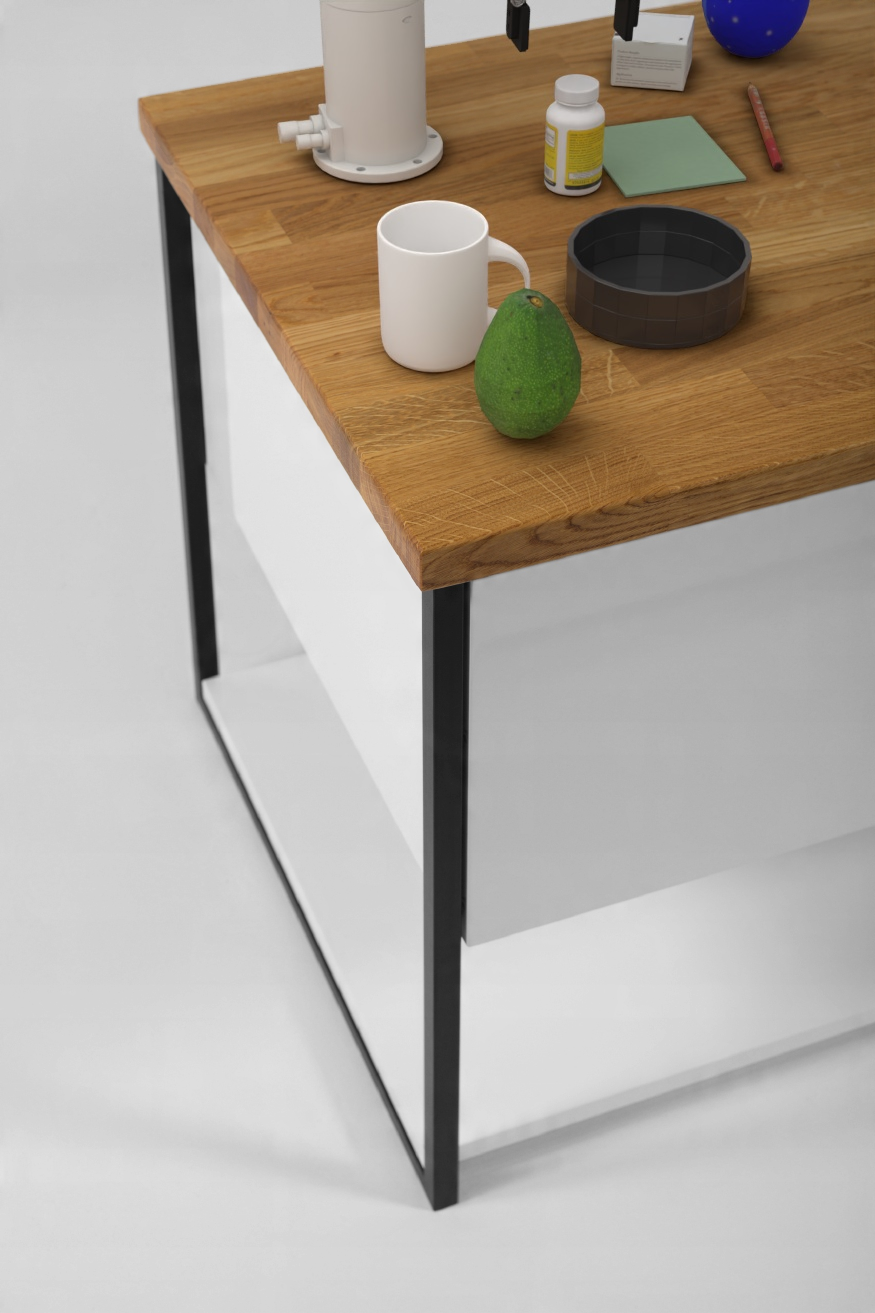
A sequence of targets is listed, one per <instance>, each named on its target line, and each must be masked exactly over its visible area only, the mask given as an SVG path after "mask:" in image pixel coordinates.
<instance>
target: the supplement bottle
mask: <svg viewBox="0 0 875 1313" xmlns="http://www.w3.org/2000/svg"><path fill="white" fill-rule="evenodd" d="M599 96H600V82H599V80H598V79H596V78H595V77H593V76H590V75H586V74H581V73H580V74H579V73H575V74H572V73H571V74H565V75H562V76H560V77H559V78H557V79H556V80H555V82H554V101H553V102H552V103H550V105H549V106H548V108H547V110H546V113H545V134H544V135H545V137H544V138H545V140H544V142H545V143H544V167H543V169H544V170H543V180H544V181H543V182H544V185H545V187H546V189H548V190H549V191H551V192H553V193H555V194H558V195H562V196H567V197H569V196H570V197H580V196H586V195H589V194H591V193H594V192H595V191H597V190H598V189H599V188H600V186H601V184H602V178H603V167H602V164H603V146H604V129H605V127H606V126H605V125H606V112H605V109H604V107H603V106H602V105H601V103H600V102H598V100H599Z"/></svg>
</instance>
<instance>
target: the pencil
mask: <svg viewBox="0 0 875 1313" xmlns="http://www.w3.org/2000/svg"><path fill="white" fill-rule="evenodd" d="M747 95H748V97H749V101H750V103H751V108H752V110H753V114H754V116H755V118H756V121H757V125H758V128H759V130H760V134H761V136H762V140H763V143H764V145H765V149H766V151H767V154H768V157H769V161H770V163H771V166H772V168H773V171H775V172H778V171H781V170H782V169H783V167H784V164H783V161H782V158H781V155H780V151H779V149H778V146H777V143H776V140H775V137H774V134H773V131H772V128H771V125H770V123H769V119H768V117H767V113H766V110H765V108H764V105H763V101H762V99H761V96H760V93H759V90H758V88H757V87H755V85H754V84H753V83H752V82H751V81H749V83H748V87H747Z"/></svg>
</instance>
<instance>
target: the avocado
mask: <svg viewBox="0 0 875 1313" xmlns="http://www.w3.org/2000/svg"><path fill="white" fill-rule="evenodd" d="M497 309H498V310H497V312H496V314H495V316H494V318H493V320H492V322H491V323H490V325H489V327H488V329H487V331H486V333H485V335H484V337H483V340H482V342H481V345H480V348H479V350H478V353H477V355H476V358H475V360H474V372H473V373H474V375H473V383H474V384H473V385H474V391H475V394H476V397H477V401H478V404H479V407H480V410H481V412H482V413H483V415H484V416H485V417H486V418H487V420H488V422H489V423H490V424H491V425H492V427H493V428H494V429H495V430H496V431H497V432H499V433H500V434H501V435H504V436H507V437H509V438H511V439H532V440H533V439H536V438H539V437H541V436H544V435H546V434H549V433H550V432H551V431H553V430H554V429H555V428H557V427H558V426H559V425H561V424H562V423H563V422H564V421H565V420H566V418H567V416H568V415H569V413H570V412H571V410H572V409H573V408H574V406H575V403H576V402H577V399H578V397H579V395H580V392H581V385H582V360H583V358H582V357H581V356H582V355H581V353H580V350H579V347H578V345H577V342H576V339H575V336H574V334H573V330H572V329H571V328H570V326H569V324H568V322H567V320H566V318H565V317H564V314H563V312H561V310H560V308H559V307H558V305H557V304H555V302H553V301H552V300H551V299H550V297H548V296H546V295H545V294H543V293H542V292H541V291H540V290H537V289H531V288H530V289H527V288H525V287H523V288H521V289H518V290H515V291H513V292H510V293H509V294H508V295H507V296H506V298H504V300H503V301H502V303H501V304H500V305H499V307H498V308H497Z"/></svg>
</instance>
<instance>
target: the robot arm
mask: <svg viewBox="0 0 875 1313" xmlns="http://www.w3.org/2000/svg"><path fill="white" fill-rule="evenodd" d="M640 8H641V0H615V2H614V14H613V23H612V24H613V25H612V26H613V27H612V28H613V30H614V32H615V31H616V32H617V33H618V35H619V36H620V37H621V38H622V39H623V40H625V42H627V41H632V39H633V29H634V27H637V25H638V18H639V12H640ZM425 10H426V9H425V0H319V11H320V12H319V13H320V14H319V15H320V30H321V49H322V64H323V81H324V82H323V83H324V97H325V98H324V99H325V103H319V104H318V114H313V115H309V118H308V119H305V120H289V121H280V122H277V135H278V139H279V142H280V144H290V143H295V146H296V150H297V151H305V150H312V159H313V162H314V163H315V164H316V165H317V167H319V169H321V170H322V171H323V172H325V173H327V174H328V175H330V176H332V177H335V178H337V179H339V180H340V179H341V180H344V181H349V182H354V183H363V184H387V183H395V182H401V181H405V180H410V179H413V178H415V177H416V178H417V177H418V176H421V175H423V174H425V173H427V172H429V171H431V170H432V169H433V168H434V167H436V166H437V165H438V164H439V162H440V161H441V160H442V157H443V154H444V142H443V139H442V136H441V135H440V134H439V132H438V131H436V129H434V128H433V127H432V126H430V125H428V124H427V79H426V78H427V75H426V74H427V73H426V23H425V22H426V20H425V17H426V14H425ZM505 15H506V18H505V20H506V21H505V34H506V37H507V39H509V40H510V41H511V43H512V44H513V45H514V47H515V48H516V49H517V50H518V52H519V53H526V52H527V51H528V50H529V46H530V45H529V44H530V24H531V6H530V5H529V4H528V3H527V0H506V14H505Z"/></svg>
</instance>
